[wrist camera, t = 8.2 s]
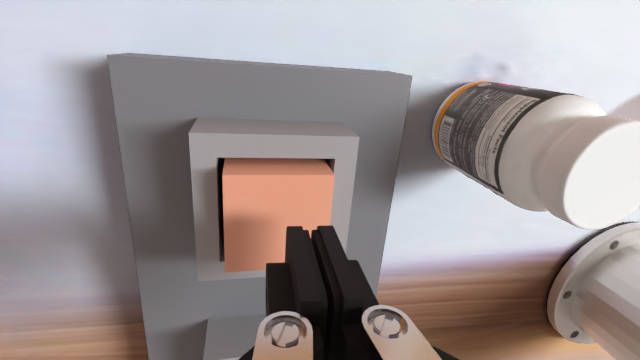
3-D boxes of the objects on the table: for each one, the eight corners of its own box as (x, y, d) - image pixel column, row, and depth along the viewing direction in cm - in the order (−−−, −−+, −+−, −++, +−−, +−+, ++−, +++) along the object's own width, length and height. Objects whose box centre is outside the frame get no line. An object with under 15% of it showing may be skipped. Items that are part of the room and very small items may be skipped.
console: (389, 71, 20) (443, 82, 15) (347, 369, 29) (371, 446, 23) (128, 53, 17) (75, 57, 12) (168, 393, 26) (147, 487, 20)
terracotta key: (319, 153, 17) (335, 175, 14) (313, 232, 18) (325, 266, 15) (225, 152, 16) (222, 174, 13) (227, 236, 17) (224, 272, 14)
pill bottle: (521, 108, 23) (702, 150, 14) (469, 179, 24) (604, 260, 15) (464, 62, 21) (632, 76, 12) (410, 141, 22) (525, 209, 13)
